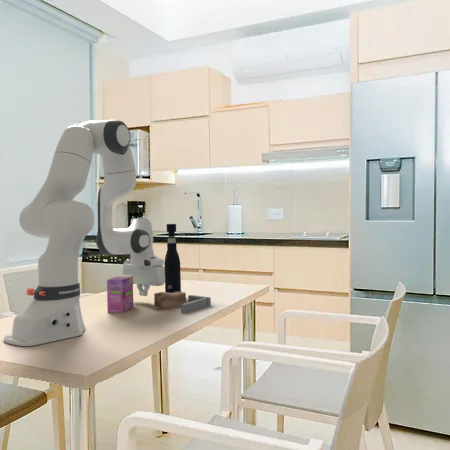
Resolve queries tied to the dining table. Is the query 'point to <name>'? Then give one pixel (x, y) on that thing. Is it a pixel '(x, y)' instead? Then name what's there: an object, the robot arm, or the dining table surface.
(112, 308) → the box
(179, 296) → the t block
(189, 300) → the corner fence
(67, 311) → the robot arm
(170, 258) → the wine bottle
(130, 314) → the dining table surface
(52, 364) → the dining table surface
